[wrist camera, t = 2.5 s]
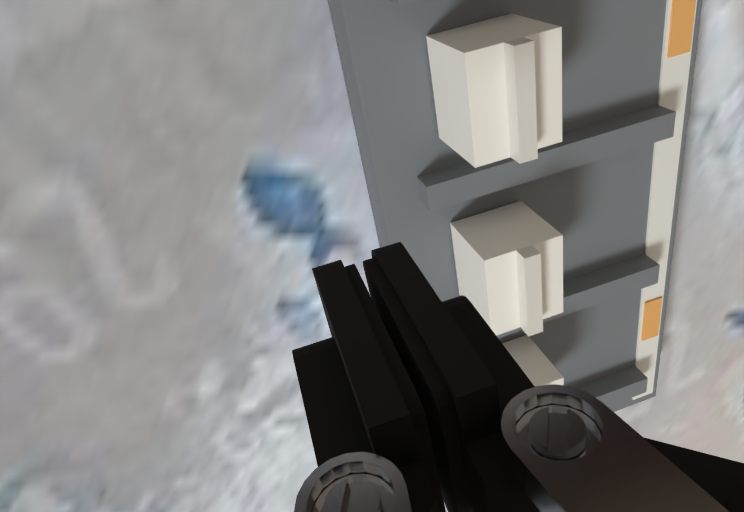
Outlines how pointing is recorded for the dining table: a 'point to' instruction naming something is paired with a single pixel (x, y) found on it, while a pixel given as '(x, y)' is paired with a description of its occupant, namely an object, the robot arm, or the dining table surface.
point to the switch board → (542, 165)
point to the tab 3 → (533, 362)
